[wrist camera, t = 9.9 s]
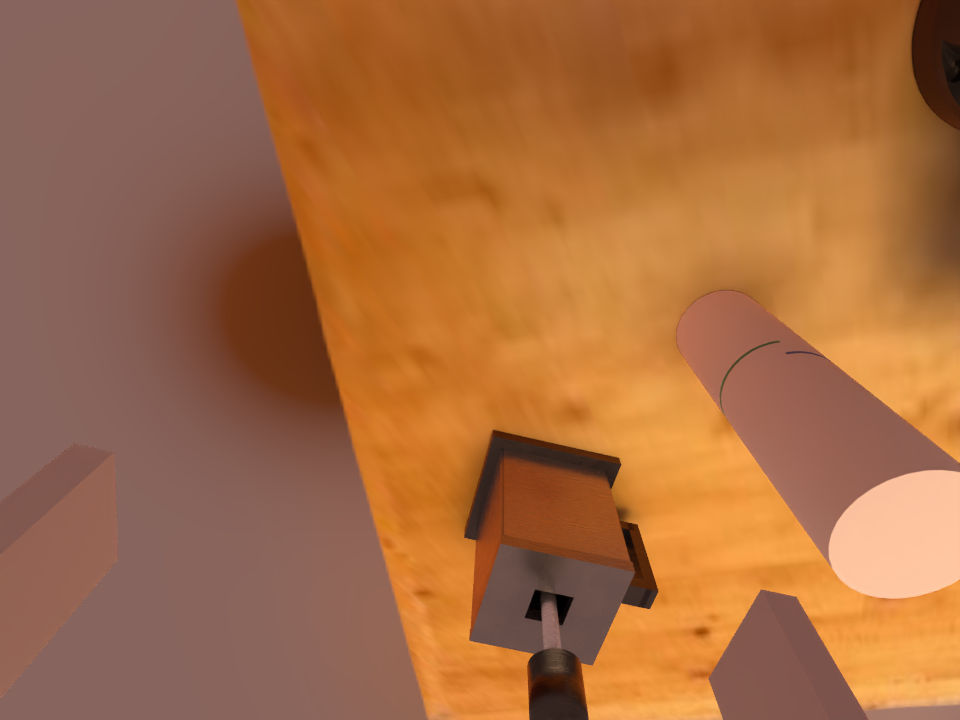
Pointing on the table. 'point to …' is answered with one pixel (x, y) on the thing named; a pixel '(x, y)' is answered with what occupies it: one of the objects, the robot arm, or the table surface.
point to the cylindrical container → (830, 449)
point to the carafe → (551, 547)
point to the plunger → (555, 673)
